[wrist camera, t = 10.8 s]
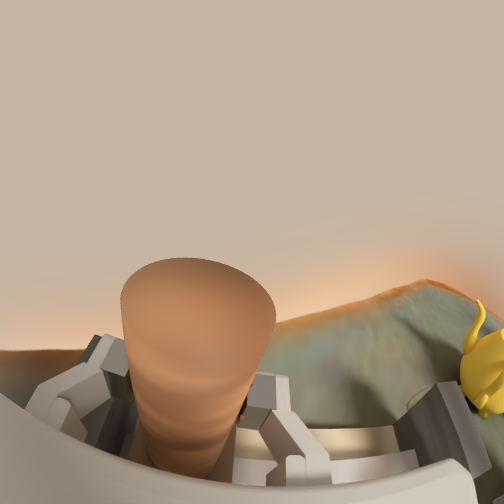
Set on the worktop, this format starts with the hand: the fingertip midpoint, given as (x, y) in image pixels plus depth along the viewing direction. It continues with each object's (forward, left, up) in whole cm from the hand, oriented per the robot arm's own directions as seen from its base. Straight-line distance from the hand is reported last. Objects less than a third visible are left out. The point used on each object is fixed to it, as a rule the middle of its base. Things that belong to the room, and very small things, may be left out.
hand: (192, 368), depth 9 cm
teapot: (+38, +7, -14) cm, 41 cm away
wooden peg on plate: (0, -1, -12) cm, 12 cm away
